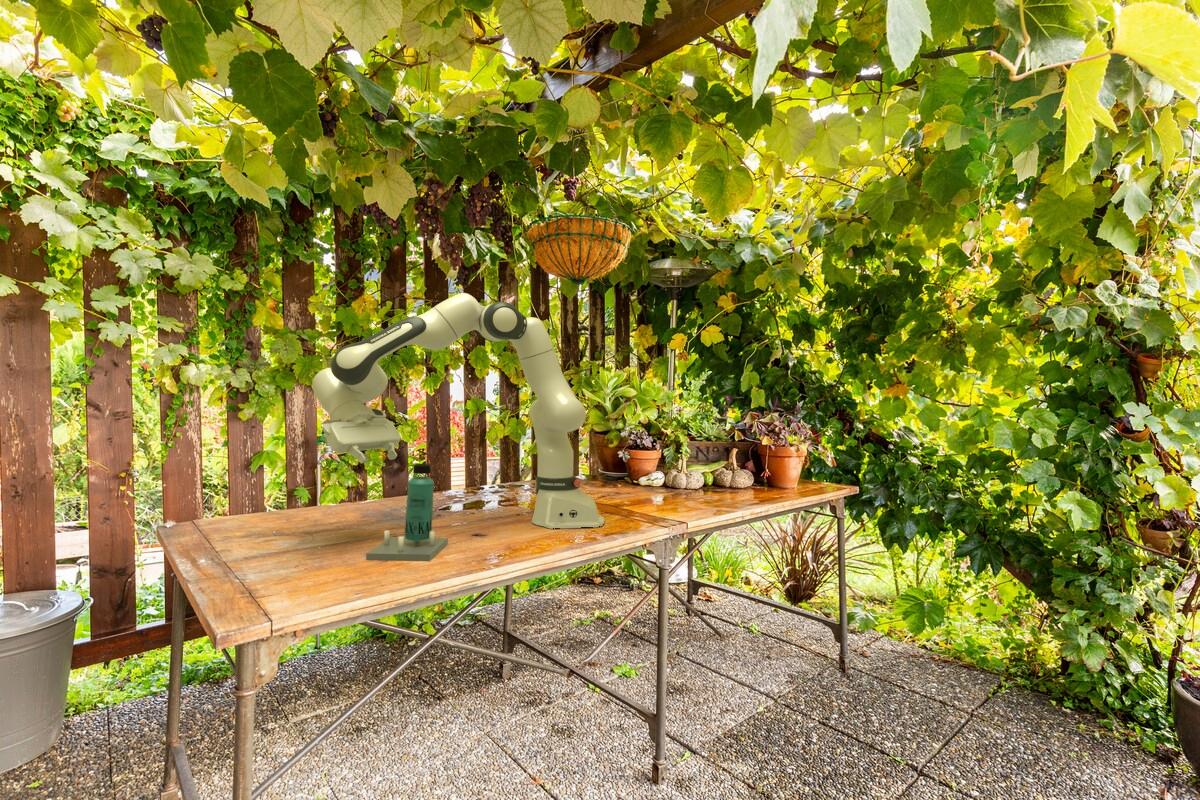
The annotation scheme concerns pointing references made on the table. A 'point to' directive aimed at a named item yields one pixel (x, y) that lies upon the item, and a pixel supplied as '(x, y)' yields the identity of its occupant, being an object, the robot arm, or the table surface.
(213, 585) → the table surface
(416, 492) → the beverage bottle
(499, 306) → the robot arm
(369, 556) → the pin plate
